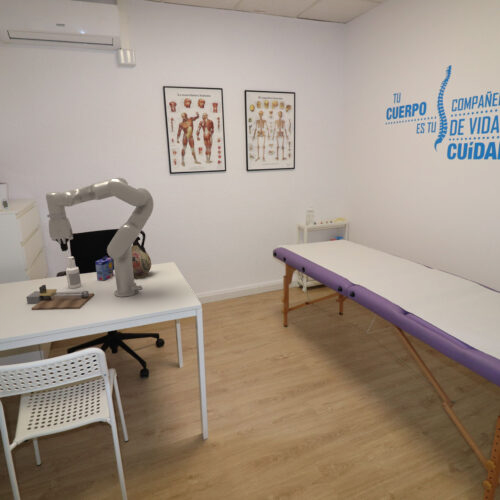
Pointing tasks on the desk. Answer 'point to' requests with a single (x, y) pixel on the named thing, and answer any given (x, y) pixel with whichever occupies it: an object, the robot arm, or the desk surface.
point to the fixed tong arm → (68, 293)
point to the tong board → (61, 304)
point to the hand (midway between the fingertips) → (64, 250)
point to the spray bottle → (73, 274)
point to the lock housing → (34, 298)
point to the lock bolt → (46, 291)
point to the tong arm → (67, 296)
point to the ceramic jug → (140, 258)
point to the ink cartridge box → (104, 268)
